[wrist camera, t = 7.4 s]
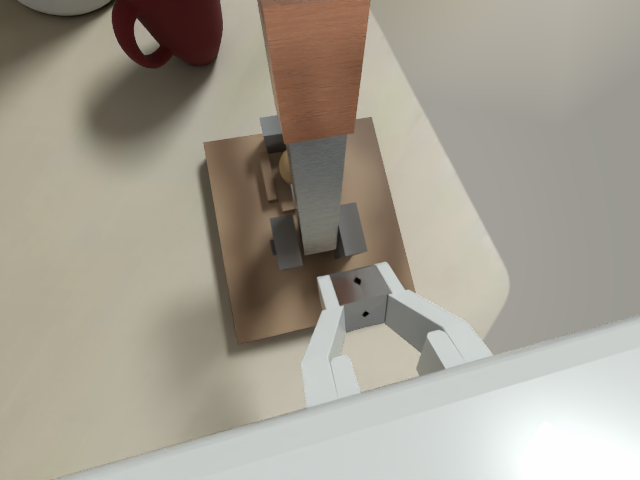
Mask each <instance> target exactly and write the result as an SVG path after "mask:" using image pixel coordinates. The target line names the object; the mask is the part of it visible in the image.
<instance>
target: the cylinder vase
mask: <svg viewBox="0 0 640 480" xmlns="http://www.w3.org/2000/svg"><path fill="white" fill-rule="evenodd" d="M17 1H19V2H20V3H22V4H23V5H25V6H27V7H29V8H32V9H34V10H37V11H39V12H43V13H47V14H52V15H60V16H72V15H80V14H84V13H88V12H91V11H94V10H96V9H98V8H100V7H102V6H104V5H106V4H107V3H108V2H110V1H111V0H17Z"/></svg>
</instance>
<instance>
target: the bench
mask: <svg viewBox="0 0 640 480" xmlns="http://www.w3.org/2000/svg"><path fill="white" fill-rule="evenodd" d="M260 122H261V127H262V132H263V134H257V135H250V136H243V137H237V138H230V139H224V140H217V141H210V142H204V149H205V155H206V161H207V167H208V172H209V178H210V184H211V190H212V196H213V202H214V208H215V214H216V220H217V225H218V231H219V237H220V243H221V249H222V255H223V261H224V267H225V273H226V278H227V284H228V290H229V296H230V302H231V308H232V314H233V320H234V326H235V331H236V337H237V343H238V344H242V343H246V342H250V341H255V340H259V339H263V338H267V337H271V336H275V335H280V334H284V333H288V332H292V331H296V330H300V329H305V328H309V327H313V326H316V325H317V322H318V320H319V317H320V314H321V312H322V306H321V301H320V296H319V290H318V284H317V277H320V276H325V275H329V274H334V273H339V272H344V271H349V270H352V269H356V268H360V267H364V266H369V265H374V264H378V263H382V262H387V263H388V264H389V266H390V267H391V269H392V270H393V272H394V274H395V275H396V277H397V278H398V280H399V281H400V283H401V285H402V286H403V288H404V289H405V290H410V291H412V292H414V293H416V292H415V289H414V285H413V281H412V277H411V273H410V269H409V265H408V261H407V257H406V253H405V249H404V245H403V241H402V237H401V233H400V229H399V225H398V221H397V217H396V213H395V209H394V205H393V201H392V197H391V193H390V189H389V185H388V181H387V177H386V173H385V169H384V165H383V161H382V157H381V153H380V149H379V145H378V141H377V137H376V133H375V129H374V125H373V121H372V117H369V118H362V119H356V120H355V128H354V133H353V134H347V142H346V153H345V163H344V173H343V183H342V193H341V203H340V213H339V223H338V234H337V244H336V249H335V250H330V251H325V252H320V253H316V254H311V255H306V256H305V255H304V250H303V246H302V241H301V237H300V232H299V228H298V223H297V219H296V214H295V210H294V203H293V197H292V191H291V185H289V184H288V183H286V182H285V181H284V179H283V178H282V176H281V174H280V170H279V162H280V158H281V156H282V154H283V153H284V152H285V151H286V150H287V148H286V144H284V140H283V136H282V132H281V127H280V123H279V119H278V115H277V116H270V117H263V118H260Z"/></svg>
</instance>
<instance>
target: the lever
mask: <svg viewBox="0 0 640 480" xmlns="http://www.w3.org/2000/svg"><path fill="white" fill-rule="evenodd" d="M257 1H258V7H259V13H260V19H261V25H262V31H263V36H264V42H265V48H266V54H267V60H268V66H269V72H270V78H271V84H272V90H273V95H274V101H275V106H276V111H277V115H278V119H279V123H280V127H281V132H282V136H283V140H284V144H286V148H287V155H288V161H289V168H290V175H291V181H292V184H290V185H291V191H292V197H293V203H294V210H295V214H296V219H297V223H298V228H299V232H300V237H301V241H302V246H303V250H304V255H305V256H306V255H311V254H316V253H320V252H325V251H330V250H335V249H336V244H337V234H338V223H339V213H340V203H341V193H342V183H343V173H344V163H345V153H346V142H347V134H353V133H354V128H355V120H356V112H357V104H358V96H359V88H360V80H361V72H362V64H363V56H364V48H365V40H366V32H367V23H368V15H369V7H370V0H257Z"/></svg>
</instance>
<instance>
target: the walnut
mask: <svg viewBox="0 0 640 480" xmlns="http://www.w3.org/2000/svg"><path fill="white" fill-rule="evenodd" d="M279 170H280V174H281V176H282V178H283V179H284V181H285V182H286V183H288V184H289V185H290V184H292V181H291V175H290V168H289V161H288V155H287V150H286V151H285V152H284V153H283V154H282V156H281V158H280V162H279Z"/></svg>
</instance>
